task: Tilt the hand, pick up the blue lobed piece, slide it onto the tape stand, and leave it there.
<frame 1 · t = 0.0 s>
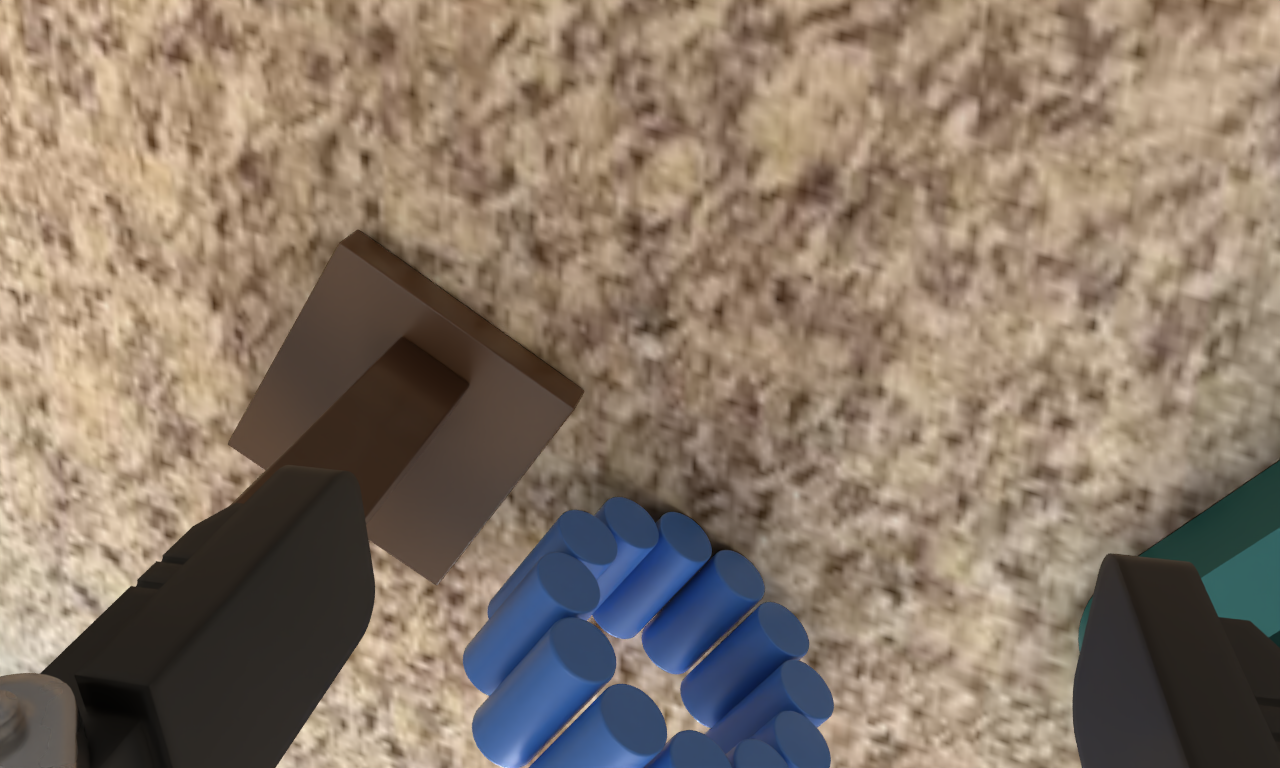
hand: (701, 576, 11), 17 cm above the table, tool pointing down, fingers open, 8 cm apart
tape stand: (433, 370, 31), on the table
blue lobed piece: (680, 575, 33), on the table
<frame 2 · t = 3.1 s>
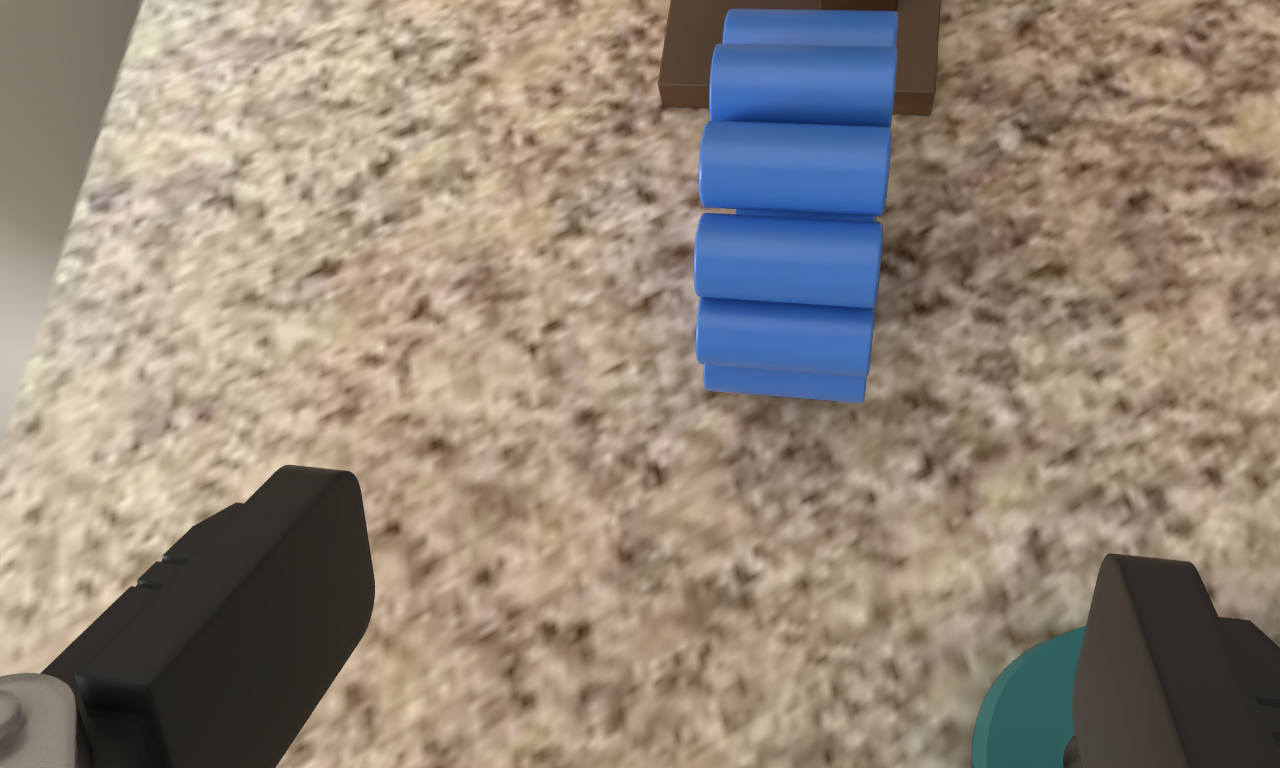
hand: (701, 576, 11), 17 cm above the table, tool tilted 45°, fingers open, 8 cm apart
tape stand: (858, 7, 34), on the table
blue lobed piece: (800, 284, 31), on the table
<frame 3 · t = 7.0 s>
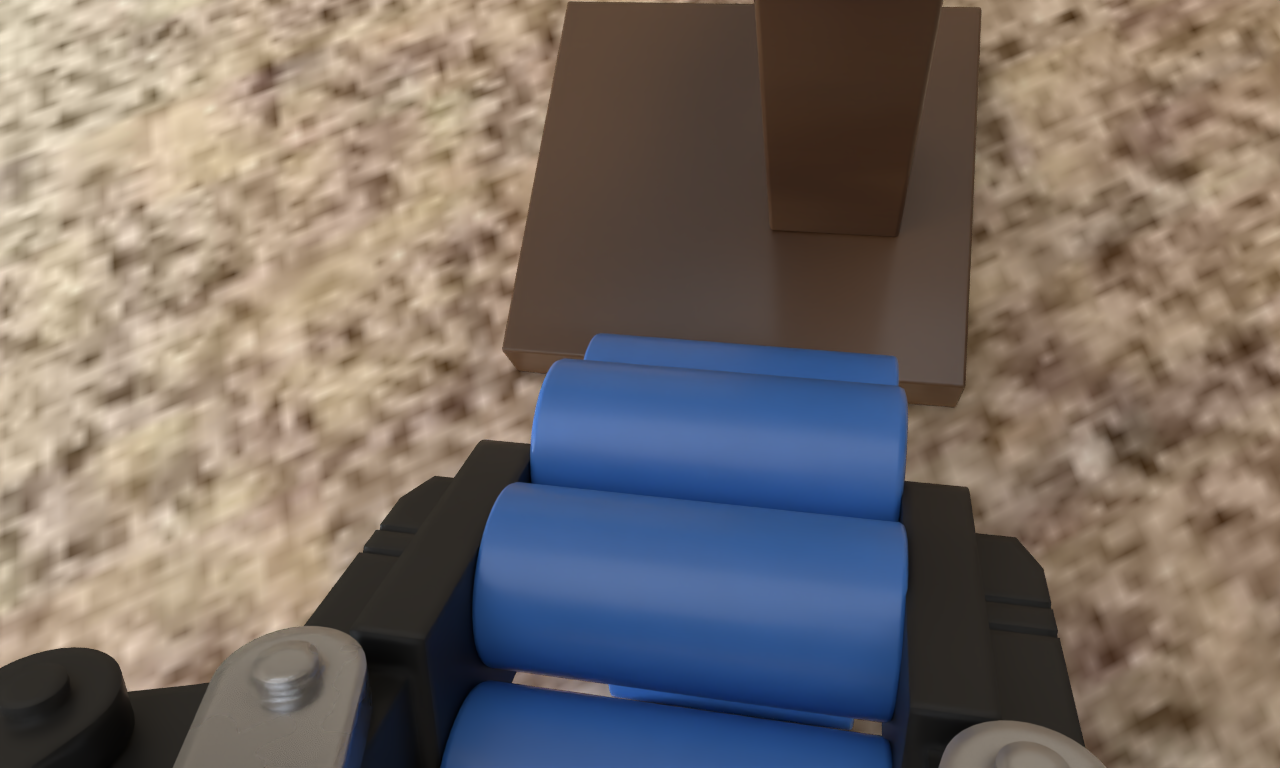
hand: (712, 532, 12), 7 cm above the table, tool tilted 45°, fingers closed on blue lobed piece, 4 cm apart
tape stand: (836, 209, 21), on the table
blue lobed piece: (732, 718, 18), on the table, touching gripper
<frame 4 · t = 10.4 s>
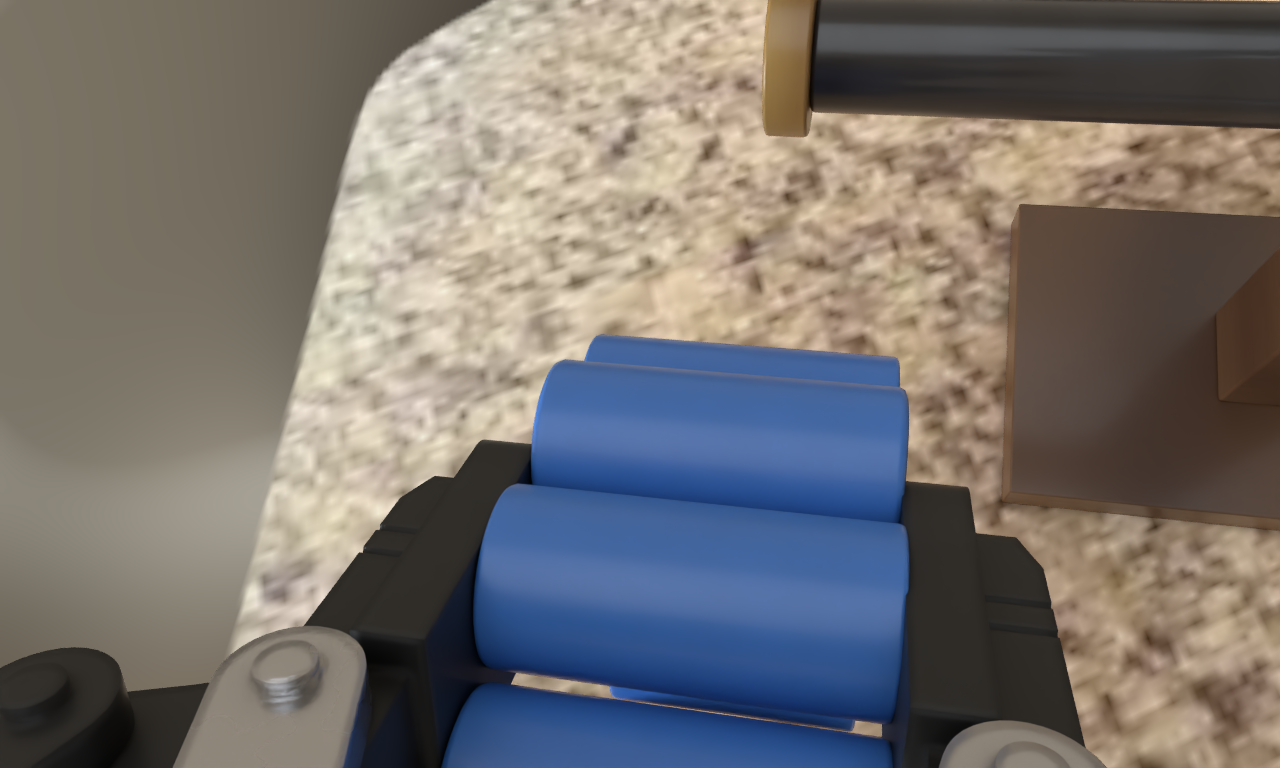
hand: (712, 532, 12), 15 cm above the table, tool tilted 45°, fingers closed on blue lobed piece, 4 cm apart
tape stand: (1249, 375, 27), on the table
blue lobed piece: (733, 719, 18), point 8 cm above the table, touching gripper
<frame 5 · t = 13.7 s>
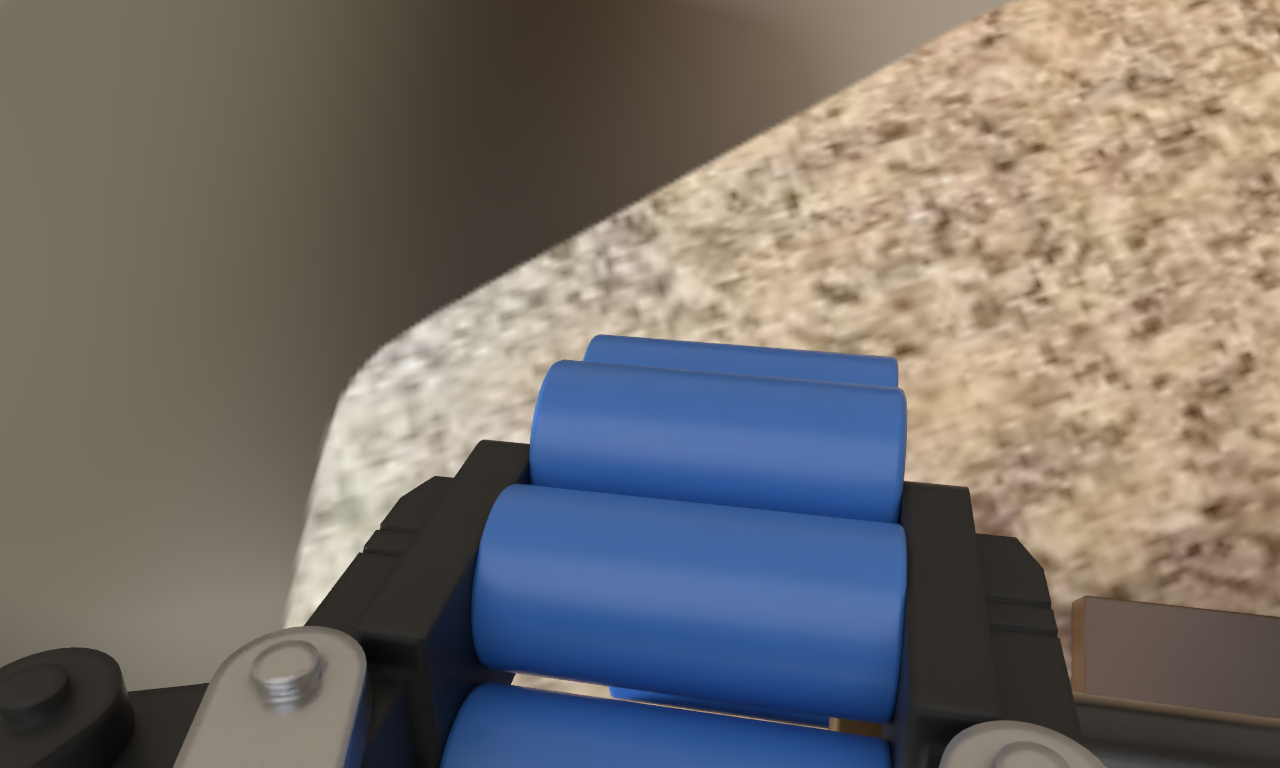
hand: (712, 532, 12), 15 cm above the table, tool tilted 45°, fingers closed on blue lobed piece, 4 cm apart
blue lobed piece: (732, 719, 18), point 8 cm above the table, touching gripper
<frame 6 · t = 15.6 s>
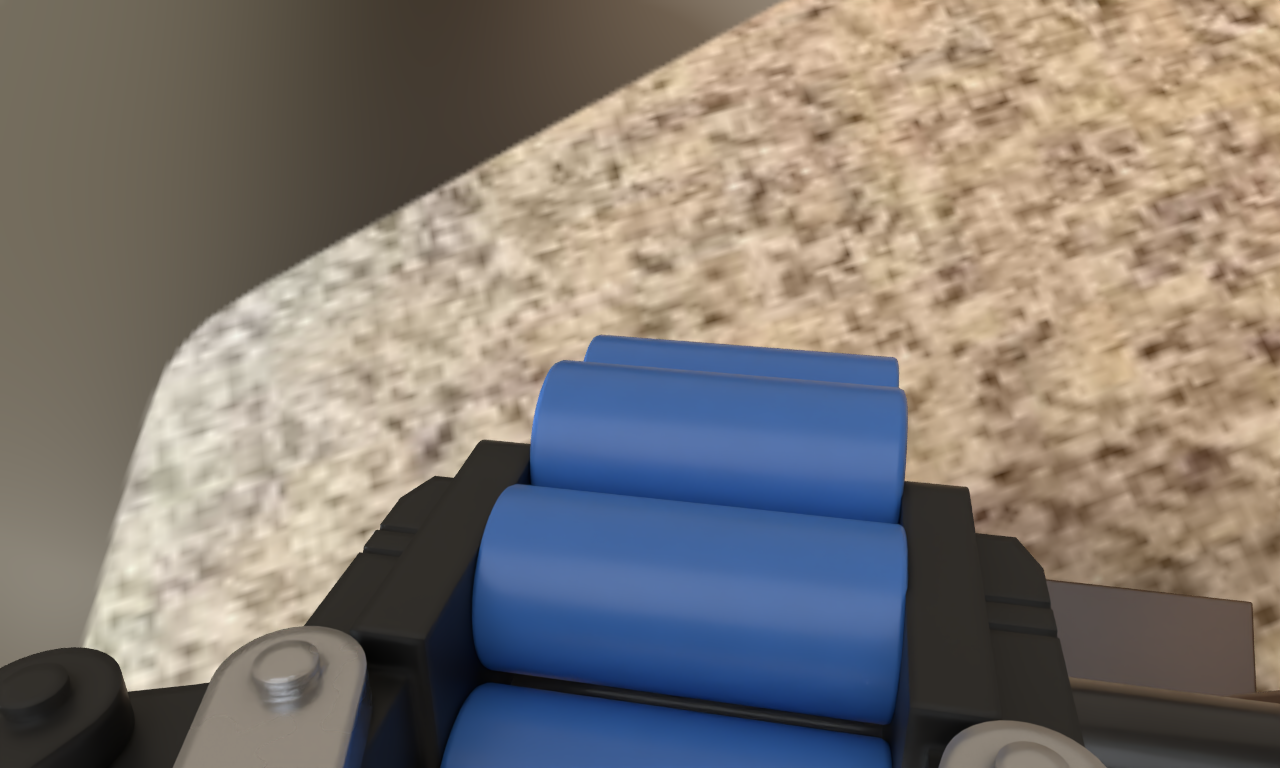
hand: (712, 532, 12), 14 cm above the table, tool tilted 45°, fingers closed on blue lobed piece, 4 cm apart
blue lobed piece: (732, 719, 18), point 7 cm above the table, touching gripper
when the fingers open (15 cm above the table, at t = 20.6 s): blue lobed piece drops 2 cm, resting on tape stand.
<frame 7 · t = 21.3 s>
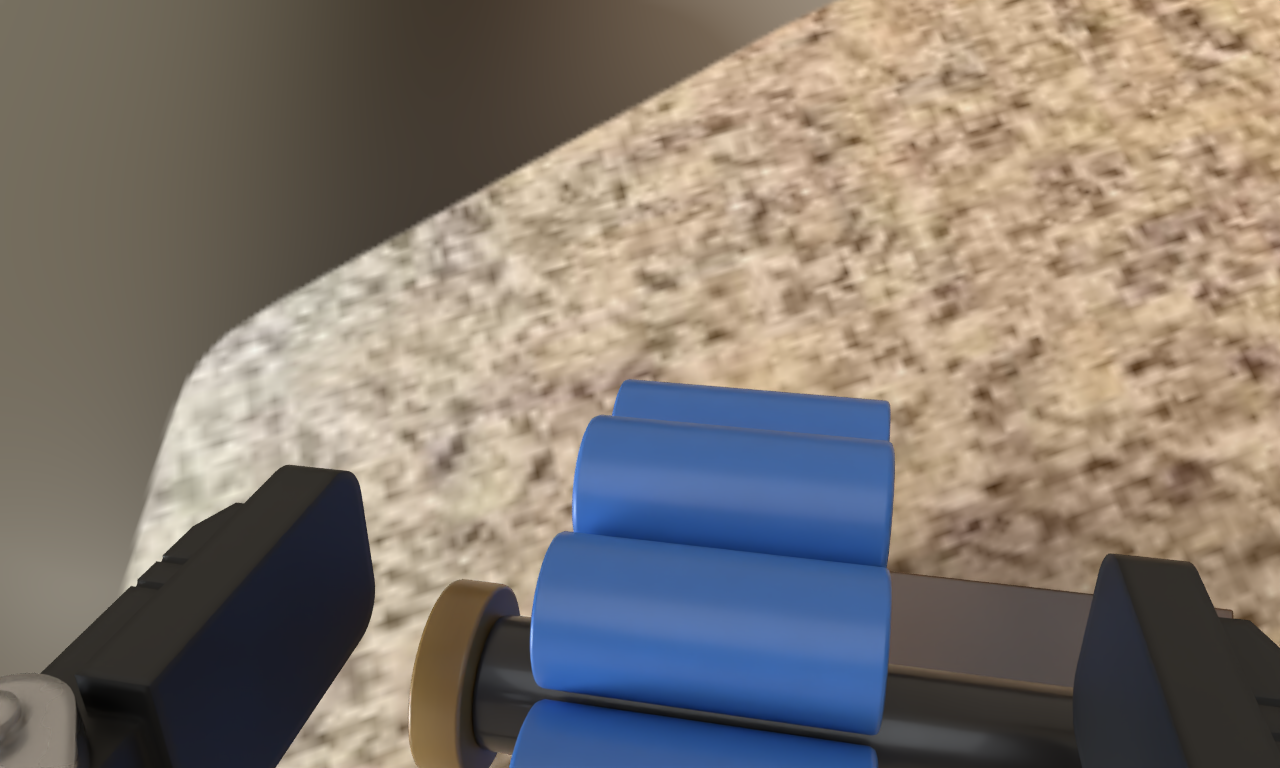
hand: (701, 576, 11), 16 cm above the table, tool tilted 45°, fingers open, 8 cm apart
blue lobed piece: (746, 702, 20), point 6 cm above the table, touching tape stand
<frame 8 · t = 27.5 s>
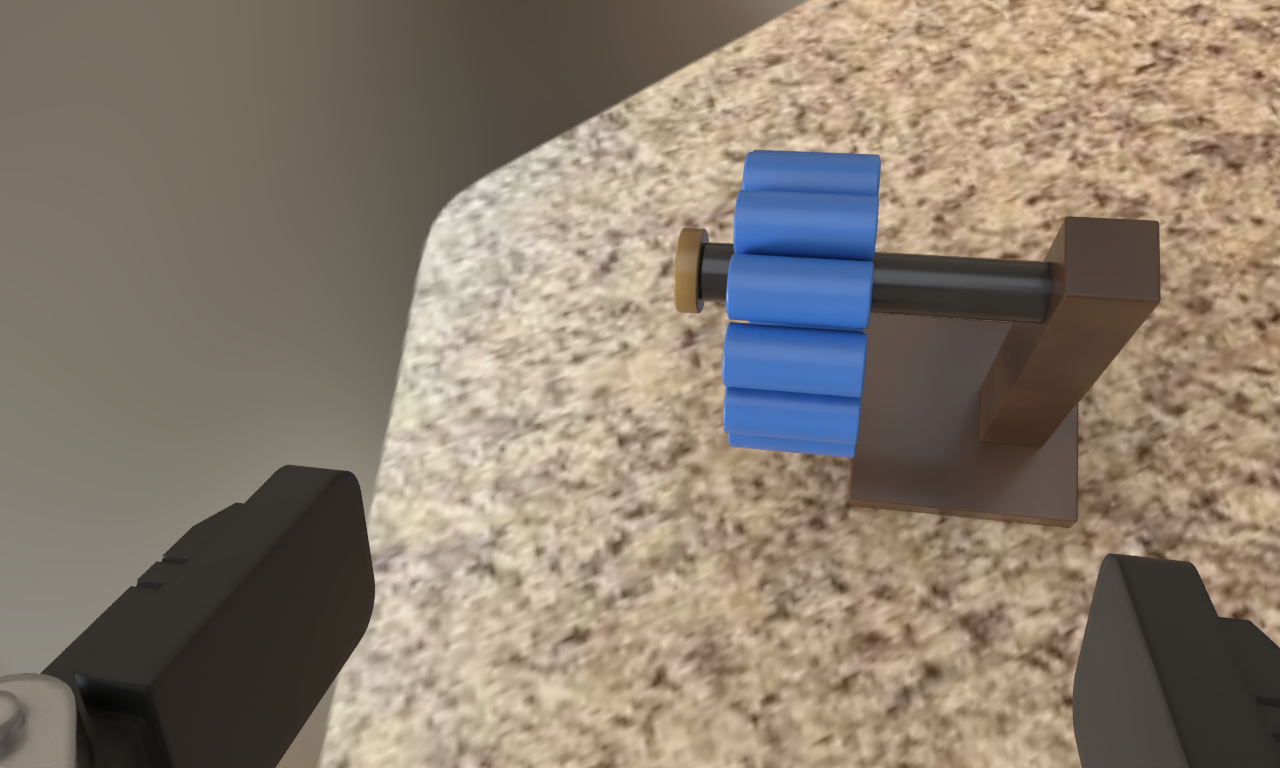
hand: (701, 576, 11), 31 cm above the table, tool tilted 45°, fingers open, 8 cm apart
tape stand: (1005, 424, 42), on the table
blue lobed piece: (804, 346, 38), point 6 cm above the table, touching tape stand
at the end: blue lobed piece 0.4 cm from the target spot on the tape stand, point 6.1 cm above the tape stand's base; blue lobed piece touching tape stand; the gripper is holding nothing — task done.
